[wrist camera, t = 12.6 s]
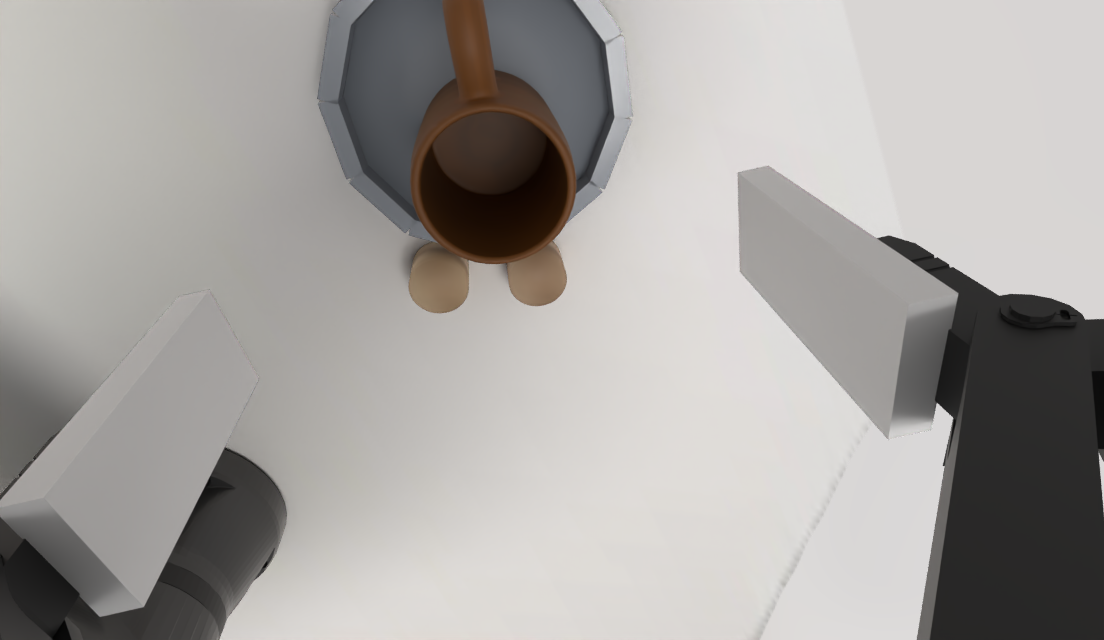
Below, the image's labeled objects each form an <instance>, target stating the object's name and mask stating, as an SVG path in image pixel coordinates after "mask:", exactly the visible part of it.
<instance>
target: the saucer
mask: <svg viewBox="0 0 1104 640" xmlns="http://www.w3.org/2000/svg"><path fill="white" fill-rule="evenodd" d="M483 1H484V7H485V13H486V19H487V25H488V32H489V38H490V45H491V51H492V57H493V64H494V70H497V71H502V72H506V73H509V74H512V75H514V76H516V77H518V78H520V79H522V80H524V81H525V82H526V83H528V84H529V85H530V86H532V87H533V88H534V89H535V90H536V91H537V92H538V93H539V94H540V96H541V97H542V98H543V99H544V101H545V102H546V104H547V105H548V107H549V109H550V110H551V112H552V114H553V115H554V117H555V119H556V120H557V122H558V124H559V126H560V128H561V130H562V131H563V133H564V136H565V138H566V140H567V142H568V144H569V147H570V151H571V154H572V158H573V162H574V167H575V173H576V197H575V201H574V206H573V209H572V211H571V214H570V217H569V219H568V220H567V222H568V221H569V220H571V219H572V218H573V217H574V216H575V215H577V214H578V213H579V212H580V211H581V210H582V209H584V208H585V207H586V206H587V205H588V204H589V203H591V202H592V201H593V200H594V199H595V198H597V197H598V196H599V195H600V194H601V193H602V191H601V189H600V188H603V189H605V188H606V185H607V183H608V180H609V178H610V175H611V172H612V170H613V167H614V165H615V162H616V160H617V157H618V155H619V152H620V150H621V147H622V145H623V142H624V140H625V137H626V135H627V132H628V130H629V127H630V125H631V122H632V120H631V119H630V118H629V117H632V116H633V114H632V105H631V96H630V87H629V78H628V69H627V60H626V51H625V42H624V36H622V35H620V33H621V32H622V31H621V29H620V28H619V27H618V25H617V24H616V22H615V21H614V20H613V18H612V17H611V15H610V14H609V13H608V11H607V10H606V8H605V7H604V6H603V4H602V3H601V1H600V0H483ZM333 11H334V12H335V13H332V14H330V19H329V26H328V32H327V39H326V45H325V52H324V58H323V65H322V71H321V77H320V84H319V90H318V97H317V99H320V100H321V101H320V102H319V103H318V105H319V108H320V111H321V113H322V116H323V119H324V121H325V124H326V126H327V129H328V132H329V134H330V137H331V140H332V142H333V145H334V148H335V150H336V153H337V156H338V158H339V161H340V163H341V166H342V169H343V171H344V174H345V177H346V179H350V178H351V180H350V182H349V183H350V184H351V185H352V186H353V187H354V188H355V189H356V190H357V191H359V192H360V193H361V194H362V195H363V196H364V197H365V198H366V199H367V200H369V201H370V202H371V203H372V204H373V205H374V206H375V207H376V208H378V209H379V210H380V211H381V212H382V213H383V214H384V215H385V216H386V217H388V218H389V219H390V220H391V221H392V222H393V223H394V224H395V225H396V226H398V227H399V228H400V229H401V230H402V231H403V232H404V233H406V232H407V231H408V230H409V229H410V231H409V235H410V236H414V237H417V238H421V239H425V240H429V241H432V242H436V243H438V242H437V241H435V240H434V239H433V238H432V237H431V235H430V234H429V233H428V232H427V231H426V229H425V228H424V226H423V225H422V223H421V222H420V220H419V217H418V215H417V213H416V211H415V208H414V205H413V202H412V196H411V189H410V167H411V158H412V153H413V149H414V145H415V142H416V138H417V135H418V132H419V129H420V126H421V124H422V121H423V118H424V115H425V113H426V110H427V108H428V106H429V104H430V103H431V101H432V99H433V98H434V97H435V95H436V94H437V93H438V92H439V91H440V90H441V89H442V88H443V87H444V86H445V85H446V84H447V83H449V82H450V81H451V80H453V79H455V78H456V76H455V71H454V67H453V62H452V57H451V52H450V47H449V42H448V37H447V32H446V26H445V20H444V14H443V6H442V0H341V1H340V2H339V3H338V4H337V5H336V6H335V7H334V8H333ZM567 222H566V223H567Z"/></svg>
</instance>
